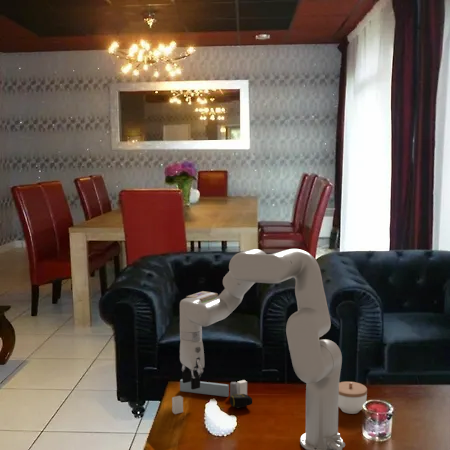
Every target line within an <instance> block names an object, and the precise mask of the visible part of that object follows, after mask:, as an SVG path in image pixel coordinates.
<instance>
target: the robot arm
mask: <svg viewBox="0 0 450 450" xmlns="http://www.w3.org/2000/svg"><path fill="white" fill-rule="evenodd" d="M228 269H229V271H227V273H226V274H225V276H223V279H222V285H223V288H224V289H223V290H222V291H221V293H219V294H218V297H217V298H215V299H212V300H210V301H207V302H204V303H202V302H201V300H199V299H197V298H186V297H185V298H183V299H181V300H180V301H179V339H180V340H179V341H180V343H179V361H180V365H181V371H182V379H183V383H187V382H191V389H192V390H193V389H197V388H200V381H201V377H202V374H203V373H204V368H205V353H204V352H205V351H204V349H205V348H204V343H203V327H208V326H211V325H213V324H216V323H217V322H219V321H222V320H225V319H226V318H227V317H228V316H230V314H232V313H233V311H235V310H236V309H237V307H238V306H239V305H240V304H241V303H242V301H243V298H244V296H245V294H246V293H247V292H248V291H249V290H250V289H251V287H253V285H254V284H256V283H259V284H260V283H261V284H279V283H282V282H285V281H287V280H290V279H292V278H293V279H295V287H294V293H295V299H296V305H297V311H295V312H294V313H292V314H291V315H290V316H289V318H288V319H287V322H286V326H285V327H286V328H285V332H286V340H287V344H288V350H289V353H290V354H289V355H290V359H291V363H292V367H293V371H294V372H295V375H296V376H297V378H298V379H300V381H302V382H303V383H306V384H305V385H306V387H305V389H306V390H305V433H303V434H302V435H301V436H300V438H299V442H300V445H301V447H302V448H304V449H305V450H343V448H345V446H346V443H345V442H344V440H343V438H342V437H341V433H339V406H338V399H339V383H340V377H341V371H342V370H341V369H342V363H343V356H342V352H341V349H340V347H339V345H337V343H336V342H334V341H332V340H330V339H326V338H325V339H319V338H321V337H323V336H324V335H326V334H327V333H328V332H329V331H330V329H331V324H332V323H331V316H330V311H329V307H328V302H327V296H326V293H325V288H324V283H323V278H322V272H321V268H320V265H319V263H318V261H317V260H316V258H315V257H314V256H313V255H312V254H311V253H309V252H308V251H305V250H303V249H299V248H289V249H284V250H281V251H279V252H278V251H277V252H274V253H270V254H269V253H268V254H267V253H266V252H265V251H264V250H261V249H257V248H253V249H252V248H251V249H248V250H244V251H240V252H238V253H235V254H234V255H233V256H232V257H231V259H230V260H229V264H228ZM195 371H196V372H195Z"/></svg>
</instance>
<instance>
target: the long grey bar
mask: <svg viewBox="0 0 450 450" xmlns="http://www.w3.org/2000/svg"><path fill="white" fill-rule="evenodd" d="M179 391H180V392H185V393H194V394H201V395H209V396H210V395H211V396H219V397H227V398H228V397H230V392H229V391H230V385H229V384H226V383H218V382H210V381H208V382H207V381H201V380H200V388H197V389H193V390H192V389H191V382H187V383H183V378H181V379H180V380H179Z"/></svg>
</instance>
